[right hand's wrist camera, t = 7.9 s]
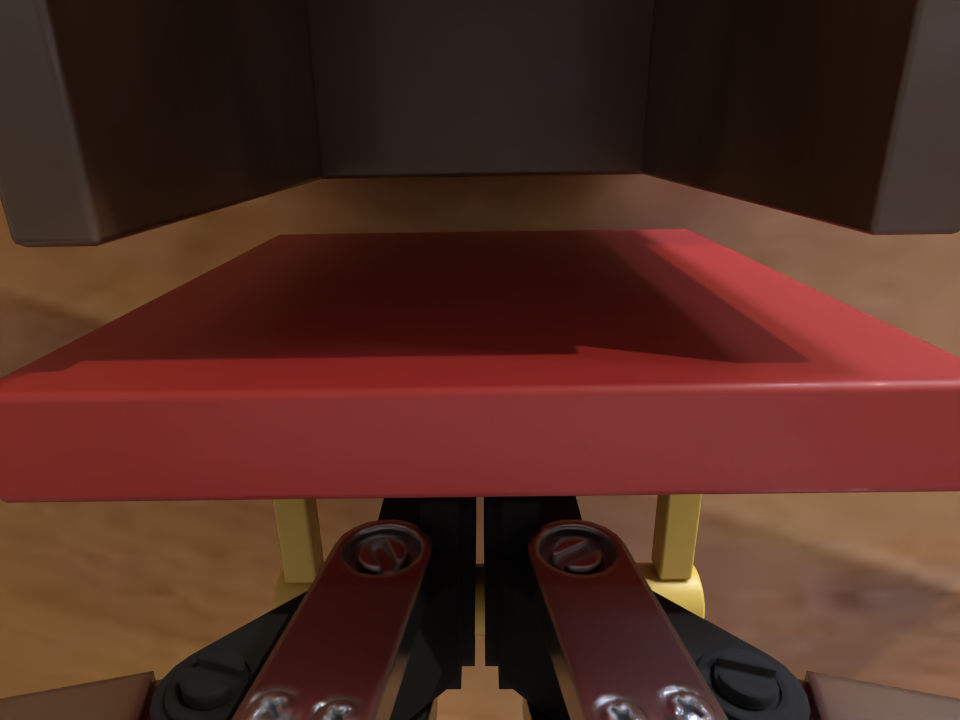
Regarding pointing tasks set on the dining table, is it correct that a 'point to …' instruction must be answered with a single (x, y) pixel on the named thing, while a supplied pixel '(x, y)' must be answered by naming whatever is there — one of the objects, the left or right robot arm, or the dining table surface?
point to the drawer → (480, 255)
